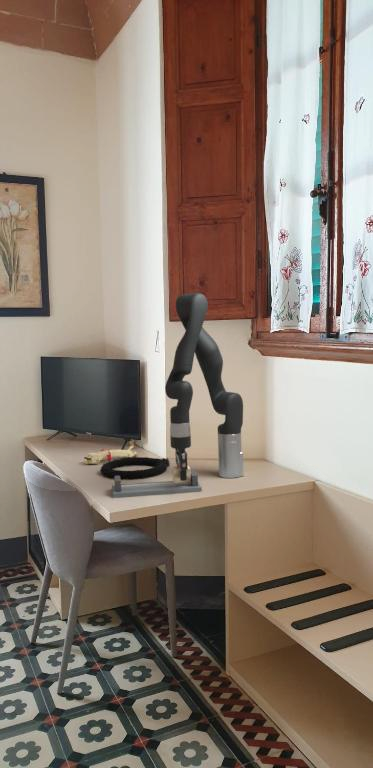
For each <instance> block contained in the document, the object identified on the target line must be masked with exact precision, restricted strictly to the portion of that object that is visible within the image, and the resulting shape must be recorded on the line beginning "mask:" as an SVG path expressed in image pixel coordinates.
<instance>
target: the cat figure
mask: <svg viewBox="0 0 373 768" xmlns="http://www.w3.org/2000/svg"><path fill="white" fill-rule="evenodd" d="M128 444H129V447H128V448H127V449H109V450H106V449H105V448H102V449H101V450H100V451H99V452H88V453H87V454H86V455H85V456H84V457H83V458H84V459H85V460H83V462H84V463H85V465H90V464H91V465H92V464H93V465H99V464H100V462H101V461H104V459H107V461H108V462H110V461H112V458H135V457H138V453H137V451H133V450H132V449H133V448H134V447H135V443H134V442H133V441H132V440H129V441H128Z"/></svg>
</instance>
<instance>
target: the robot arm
mask: <svg viewBox="0 0 373 768" xmlns="http://www.w3.org/2000/svg"><path fill="white" fill-rule="evenodd" d="M208 304H209V302H208V299H207V297H206V296H205V295H204V294H202V293H198V292H195V293H185V294H180V295H178V297H177V298H176V300H175V311H176V313H177V316H178V319H179V320H180V322H181V323H182V326H183V328H184V333H183V336H182V337H181V339H180V341H179V343H178V345H176V350H175V353H174V358H173V365H172V369H171V371H170V373H169V376H168V378H167V380H166V383H165V386H164V387H165V388H164V389H165V394H166V396H167V398H169V399H172V400H177V403H176V405H175V406H172V407H171V408H170V410H169V419H170V426H169V435H170V436H169V438H170V439H169V440H170V447H171V448H172V449H175V452H174V453H175V462H176V463H175V464H176V467H177V466H178V465H179V466H180V479H181V481H185V480H187V474H186V470H187V469H188V467H187V466H188V452H187V451H186V449H189V448H191V447H192V438H191V437H192V434H191V433H192V432H191V423H190V409H191V406H192V405H191V404H192V400H193V397H194V389H193V385H192V384H191V383H190V381H187V380H184V377H185V376H188V375H190V374H191V373H192V371H193V365H194V360H195V359H194V358H196V360H197V362H198V365H199V368H200V370H201V372H202V374H203V378H204V381H205V384H206V386H207V390H208V394H209V398H210V401H211V405H212V407H213V410H214V411H215V413H217V414H218V415H221V416H225V417H224V422H222V423H221V424H218V426H217V450H218V451H217V452H218V453H217V454H218V456H217V457H218V476H219V477H221V478H224V479H225V478H226V479H234V478H239V477H244V452H243V451H242V426H243V423H244V400H243V398H242V396H241V394H239V393H237V392H233V391H226V388H225V386H224V384H223V381H222V373H223V368H224V360H223V356H222V353H221V351H220V348H219V345H218V343H216V341H215V340H214V338H213V337H212V336H211V335H210V334H209V333H208V331H206V329H205V328H204V327H203V325H204V322H205V319H206V315H207V313H208V308H209V307H208ZM195 356H196V357H195ZM182 465H185V466H184V467H182Z"/></svg>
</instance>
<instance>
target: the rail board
mask: <svg viewBox="0 0 373 768" xmlns="http://www.w3.org/2000/svg"><path fill="white" fill-rule="evenodd" d="M114 477H115V478H114V484H112V485H111V488H112V489H111V490H112V499H113V498H114V499H117V498H118V499H119V498H129V497H143V496H145V497H146V496H156V495H157V496H158V495H168V494H169V495H170V494H172V495H173V494H183V493H184V494H185V493H186V494H187V493H197V492H198V493H199V492H200V491H201V492H203V487H202V486H201V484H200V483H199V479H198V478H199V476H198V474H197V472H196V471H195V470H194V469H193V470H191V482H186V483H174V481H173V480H166V481H153V482H140V483H127V484H125V483H124V484H122V479H120V475H119V476H114Z"/></svg>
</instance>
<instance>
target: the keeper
mask: <svg viewBox="0 0 373 768" xmlns="http://www.w3.org/2000/svg"><path fill="white" fill-rule="evenodd" d="M184 466H185V465H182V467H184ZM187 467H188V469H187V470H186V474H187V480H185V481H181V479H180V466H179V465H178V466H177V465H176V466H172V481H174V483H186V482H191V471H192V469H191V467H190V466H189V465H187Z"/></svg>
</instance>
